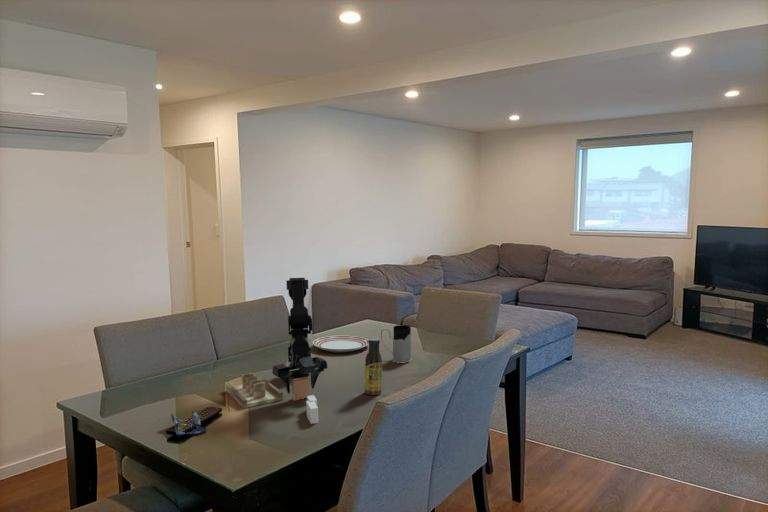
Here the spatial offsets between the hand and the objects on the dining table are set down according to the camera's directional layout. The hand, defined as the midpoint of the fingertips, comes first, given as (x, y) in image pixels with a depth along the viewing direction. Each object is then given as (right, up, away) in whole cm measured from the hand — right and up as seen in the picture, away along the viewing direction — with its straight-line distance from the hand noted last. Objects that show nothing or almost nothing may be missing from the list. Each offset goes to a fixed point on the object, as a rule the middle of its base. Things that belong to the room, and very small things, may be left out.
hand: (300, 390), depth 187 cm
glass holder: (+35, +2, +45) cm, 57 cm away
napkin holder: (+7, -5, -15) cm, 17 cm away
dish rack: (-17, -2, +3) cm, 18 cm away
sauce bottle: (+26, -2, +5) cm, 26 cm away
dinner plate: (+9, +3, +67) cm, 67 cm away
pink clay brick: (0, -3, 0) cm, 3 cm away
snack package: (-30, -6, -26) cm, 40 cm away
